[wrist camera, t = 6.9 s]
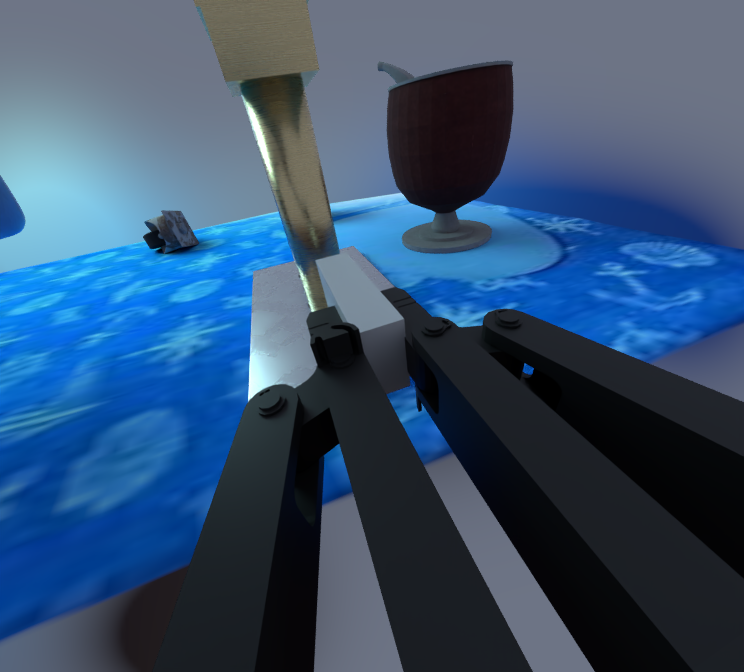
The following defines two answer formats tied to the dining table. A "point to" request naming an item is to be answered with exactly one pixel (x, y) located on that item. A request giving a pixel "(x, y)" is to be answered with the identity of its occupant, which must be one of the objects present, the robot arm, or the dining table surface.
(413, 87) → the mate gourd
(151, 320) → the dining table surface
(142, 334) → the dining table surface
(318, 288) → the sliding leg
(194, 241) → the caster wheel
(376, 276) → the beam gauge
